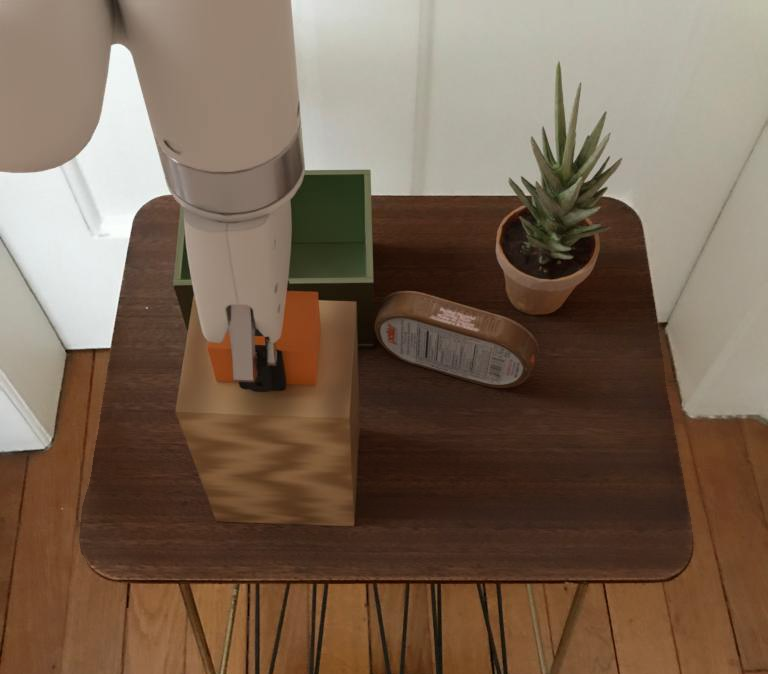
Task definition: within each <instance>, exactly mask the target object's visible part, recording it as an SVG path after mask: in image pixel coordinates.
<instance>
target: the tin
mask: <svg viewBox="0 0 768 674" xmlns="http://www.w3.org/2000/svg"><path fill="white" fill-rule="evenodd" d="M374 331H375V335H376V338H377V340H378V342H379V344H380V345H381V346H382V347H383V348H384V349H385V350H386V351H387V352H388V353H390V354H391V355H392V356H395V357H396V358H397V359H399V360H401V361H403V362H405V363H408V364H410V365H413V366H417V367H420V368H424V369H427V370H431V371H434V372H437V373H440V374H444V375H447V376H450V377H454V378H457V379H459V380H462V381H463V380H464V381H467V382H470V383H473V384H478V385H480V386H483V387H488V388H494V389H495V388H496V389H508V388H514V387H517V386H519V385H521V384H523V383H525V382H526V380H527V379H528V378H529V377H530V375H531V374H532V371H533V368H534V364H535V361H536V360H537V358H538V356H539V353H540V347H539V343H538V341H537V340H536V337H535V336H534V334H533V333H532V332H531V331H529V330H528V329H527V328H526V327H525V326H523V325H522V324H520V323H518V322H517V321H516V320H513V319H511V318H509V317H506V316H503V315H500V314H497V313H493V312H490V311H487V310H483V309H479V308H476V307H472V306H469V305H466V304H462V303H458V302H456V301H453V300H452V301H451V300H448V299H446V298H442V297H438V296H436V295H432V294H428V293H424V292H421V291H415V290H399V291H395V292H392V293H389V294H388V295H386V296H385V297H384V298H383V299H382V300H381V303H380V308H379V310H378V314H377V316H376V318H375V321H374Z"/></svg>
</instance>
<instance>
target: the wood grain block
mask: <svg viewBox="0 0 768 674" xmlns="http://www.w3.org/2000/svg"><path fill="white" fill-rule="evenodd" d="M319 312H320V324H321V331H320V344H319V356H318V369H317V382H316V385H292V384H286V389H285V390H282V391H277V390H271V391H269V392H255V391H252V390H250V389H242V388H241V387H240V386H239V383H238V382H217V381H216V378H215V375H214V371H213V367H212V364H211V360H210V356H209V353H208V349H207V345H208V341H207V339H206V338H205V337H204V335H203V333H202V329H201V325H200V320H199V315H198V310H197V305H196V301H195V296H193V303H192V309H191V315H190V322H189V328H188V332H187V335H186V342H185V346H184V347H185V349H184V354H183V361H182V367H181V374H180V380H179V385H178V392H177V397H176V398H177V399H176V405H175V411H174V412H175V414H176V415H175V416H176V417H177V420H178V422H179V425H180V428H181V430H182V433H183V437H184V438H185V441H186V444H187V447H188V449H189V452H190V455H191V457H192V460H193V463H194V465H195V468H196V471H197V473H198V476H199V478H200V481H201V484H202V487H203V489H204V493H205V494H206V495H205V496H206V497H207V501H208V502H209V505H210V508H211V511H212V514H213V516H214V519H215V522H222V523H225V522H226V523H227V522H228V523H254V524H278V525H303V526H306V525H307V526H335V527H355V522H356V521H355V519H356V503H357V502H356V501H357V484H358V483H357V481H358V464H359V463H358V462H359V461H358V460H359V445H360V429H361V427H360V388H359V352H358V350H359V348H358V345H357V305H356V302H353V301H324V300H319Z"/></svg>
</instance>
